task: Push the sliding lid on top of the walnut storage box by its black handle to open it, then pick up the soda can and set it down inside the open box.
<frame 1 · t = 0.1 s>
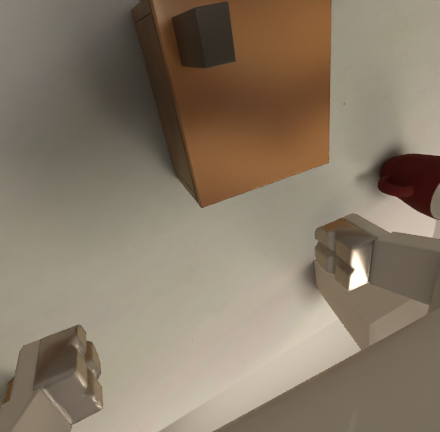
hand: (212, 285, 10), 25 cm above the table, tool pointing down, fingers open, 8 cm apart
soap bottle: (333, 260, 53), on the table
sliding lid: (273, 100, 23), point 11 cm above the table, slide at 0.0 cm
mug: (382, 171, 48), on the table
storage box: (219, 88, 32), on the table
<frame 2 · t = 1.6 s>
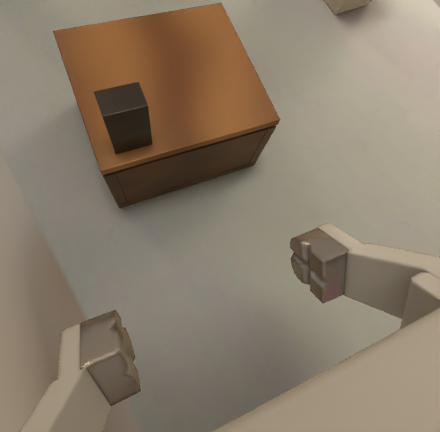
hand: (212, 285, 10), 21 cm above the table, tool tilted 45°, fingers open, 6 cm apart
sliding lid: (168, 57, 25), point 11 cm above the table, slide at 0.0 cm
storage box: (169, 132, 35), on the table
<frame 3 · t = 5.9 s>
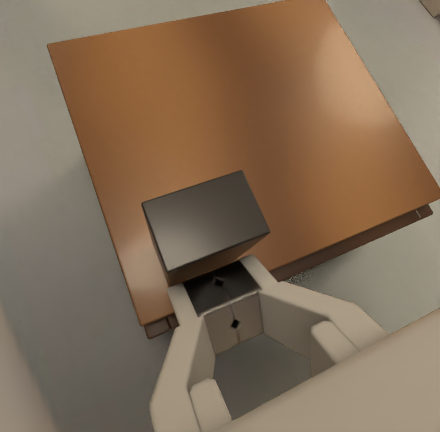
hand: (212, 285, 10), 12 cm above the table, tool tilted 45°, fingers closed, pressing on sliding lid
sliding lid: (263, 93, 13), point 11 cm above the table, slide at 0.6 cm, touching gripper
storage box: (226, 196, 24), on the table
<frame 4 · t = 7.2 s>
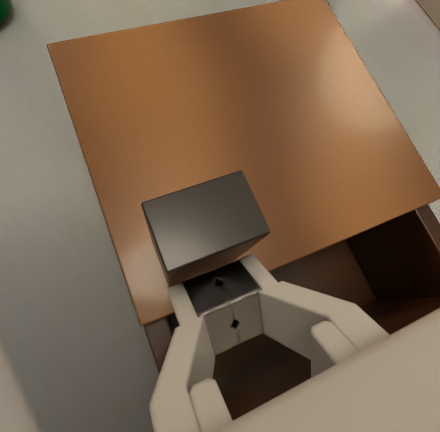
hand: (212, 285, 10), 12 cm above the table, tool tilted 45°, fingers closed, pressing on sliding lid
sliding lid: (263, 93, 13), point 11 cm above the table, slide at 5.8 cm, touching gripper
storage box: (253, 258, 22), on the table
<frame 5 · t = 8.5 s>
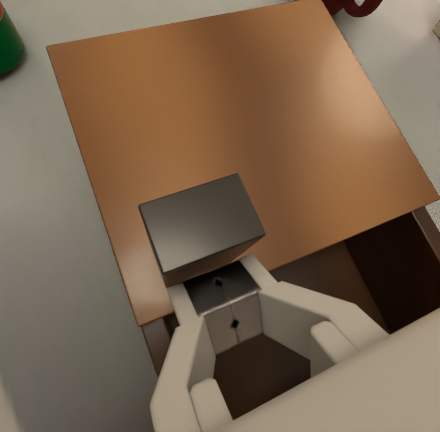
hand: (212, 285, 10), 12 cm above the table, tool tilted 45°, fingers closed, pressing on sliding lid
sliding lid: (261, 96, 13), point 11 cm above the table, slide at 10.2 cm, touching gripper
mug: (325, 12, 32), on the table
storage box: (275, 317, 22), on the table
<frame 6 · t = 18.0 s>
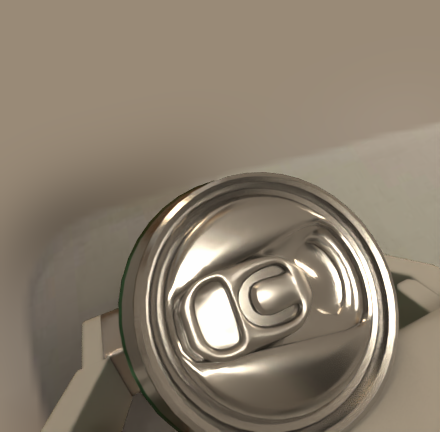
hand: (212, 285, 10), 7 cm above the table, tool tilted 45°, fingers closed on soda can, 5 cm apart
soda can: (201, 305, 16), on the table, touching gripper
when the fingers open (8 cm above the table, at t = 30.5 s): soda can stays where it is, resting on storage box.
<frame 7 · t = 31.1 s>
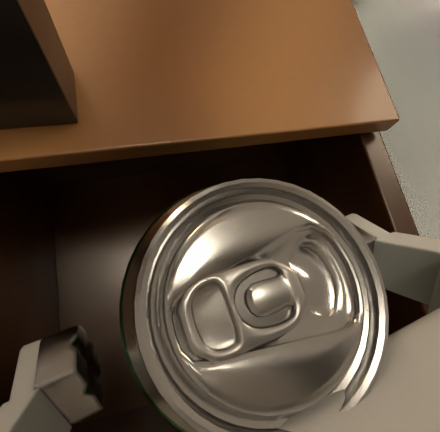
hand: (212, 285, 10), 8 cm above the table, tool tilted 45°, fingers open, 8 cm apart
soda can: (200, 306, 16), point 1 cm above the table, touching storage box
storage box: (193, 271, 18), on the table
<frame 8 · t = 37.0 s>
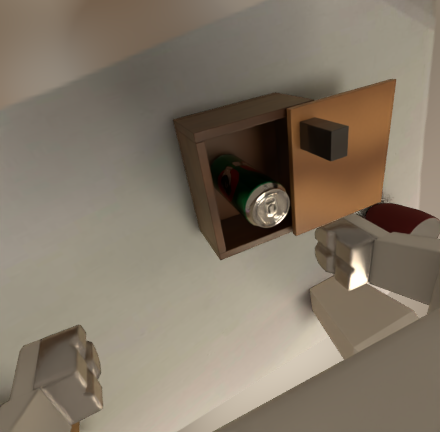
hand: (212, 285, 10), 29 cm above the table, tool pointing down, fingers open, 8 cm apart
soap bottle: (326, 287, 62), on the table
sliding lid: (355, 168, 35), point 11 cm above the table, slide at 10.2 cm
mug: (367, 215, 57), on the table
soda can: (224, 171, 41), point 1 cm above the table, touching storage box
storage box: (235, 165, 42), on the table
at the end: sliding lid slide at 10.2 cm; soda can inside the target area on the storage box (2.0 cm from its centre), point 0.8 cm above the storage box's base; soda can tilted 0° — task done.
